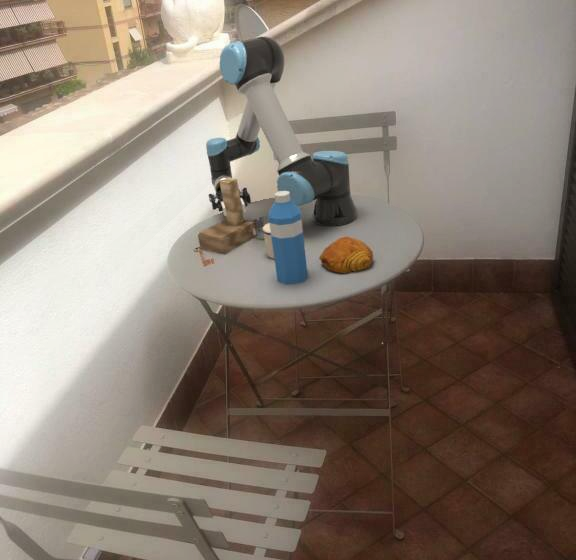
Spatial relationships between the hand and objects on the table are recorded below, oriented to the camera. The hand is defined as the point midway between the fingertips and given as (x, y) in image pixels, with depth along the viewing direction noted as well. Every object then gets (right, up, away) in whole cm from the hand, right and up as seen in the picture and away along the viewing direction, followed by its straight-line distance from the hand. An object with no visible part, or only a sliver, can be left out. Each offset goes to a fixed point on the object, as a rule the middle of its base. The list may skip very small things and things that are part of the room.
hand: (234, 209), depth 185 cm
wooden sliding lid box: (-3, -10, +7) cm, 12 cm away
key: (-9, -15, -1) cm, 18 cm away
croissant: (+34, -18, -17) cm, 42 cm away
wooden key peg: (0, -8, +10) cm, 13 cm away
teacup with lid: (+15, -14, -5) cm, 21 cm away
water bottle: (+18, -22, -21) cm, 35 cm away
